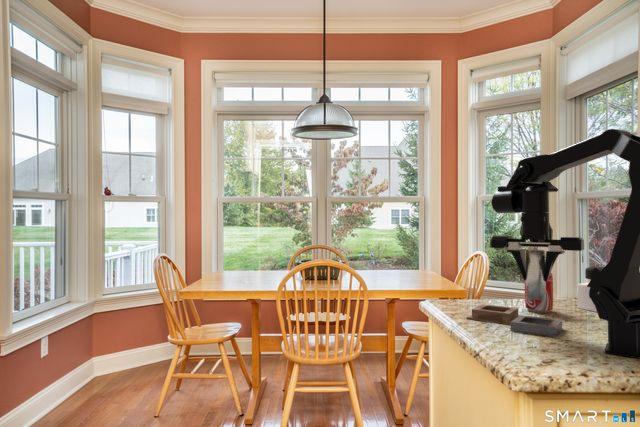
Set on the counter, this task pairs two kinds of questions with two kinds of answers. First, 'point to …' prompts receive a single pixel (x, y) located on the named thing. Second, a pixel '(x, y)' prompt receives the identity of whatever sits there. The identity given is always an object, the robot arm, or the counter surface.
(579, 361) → the counter surface
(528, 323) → the socket block
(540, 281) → the silver metal cylinder
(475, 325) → the counter surface
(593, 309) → the medicine bottle
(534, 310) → the soda can
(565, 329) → the counter surface
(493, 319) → the brown square tray
